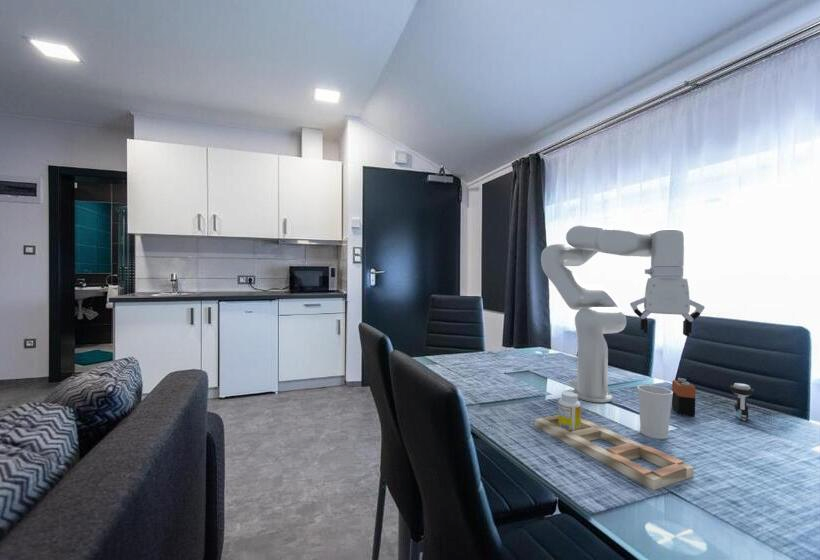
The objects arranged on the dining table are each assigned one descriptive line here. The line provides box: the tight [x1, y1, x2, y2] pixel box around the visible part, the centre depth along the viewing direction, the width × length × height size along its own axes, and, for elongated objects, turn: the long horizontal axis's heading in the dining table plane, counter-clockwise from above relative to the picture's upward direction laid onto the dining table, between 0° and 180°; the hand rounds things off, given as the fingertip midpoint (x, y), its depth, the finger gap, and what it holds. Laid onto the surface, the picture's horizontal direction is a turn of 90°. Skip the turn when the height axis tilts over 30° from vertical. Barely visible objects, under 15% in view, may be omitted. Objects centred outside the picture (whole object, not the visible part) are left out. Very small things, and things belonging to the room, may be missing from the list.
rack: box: [534, 414, 695, 491], centre depth 90 cm, size 33×13×2 cm, turn 23°
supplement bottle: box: [557, 391, 582, 432], centre depth 99 cm, size 6×6×10 cm
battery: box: [671, 377, 697, 417], centre depth 115 cm, size 4×7×10 cm, turn 159°
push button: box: [729, 382, 755, 421], centre depth 110 cm, size 7×5×10 cm
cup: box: [636, 384, 673, 440], centre depth 98 cm, size 8×8×12 cm
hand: (665, 333), depth 103 cm, fingers open, 9 cm apart
